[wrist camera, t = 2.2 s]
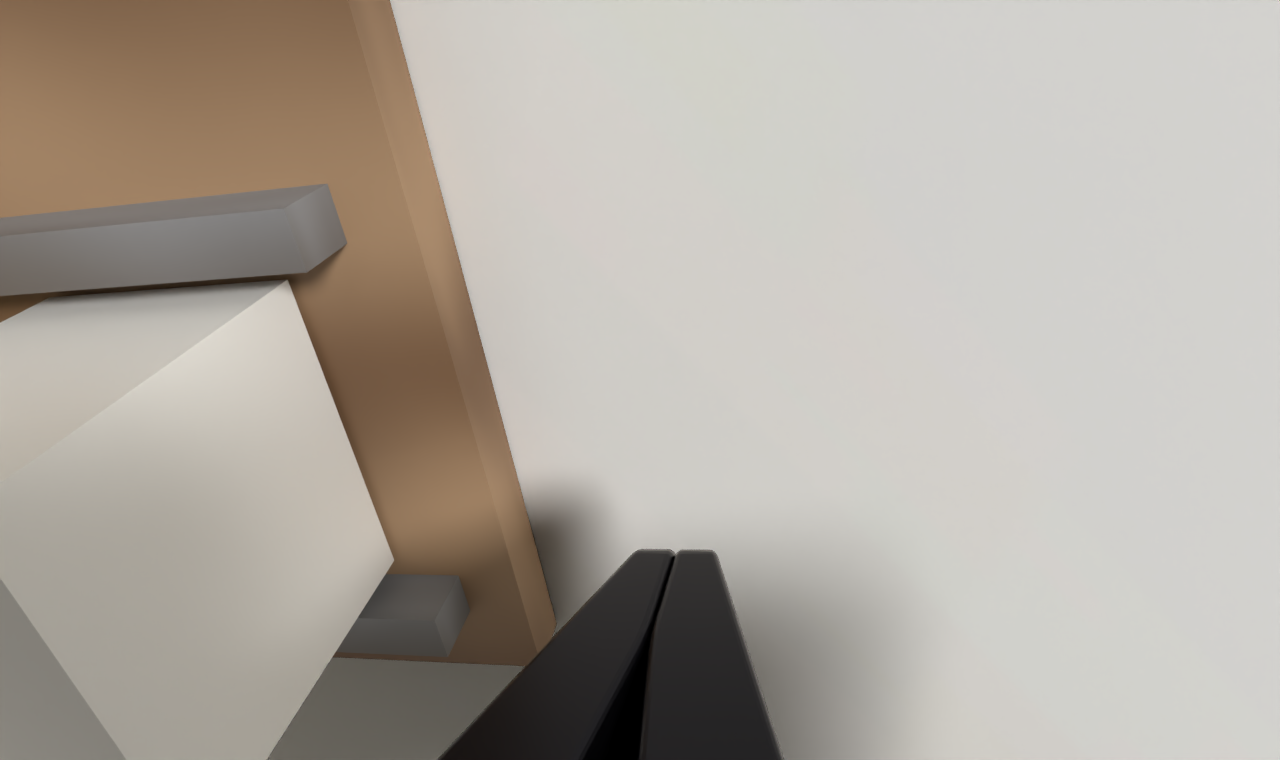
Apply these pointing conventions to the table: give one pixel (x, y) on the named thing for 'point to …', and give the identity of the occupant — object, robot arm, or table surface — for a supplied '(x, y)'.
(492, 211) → the table surface
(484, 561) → the base
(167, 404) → the ivory matte cube
